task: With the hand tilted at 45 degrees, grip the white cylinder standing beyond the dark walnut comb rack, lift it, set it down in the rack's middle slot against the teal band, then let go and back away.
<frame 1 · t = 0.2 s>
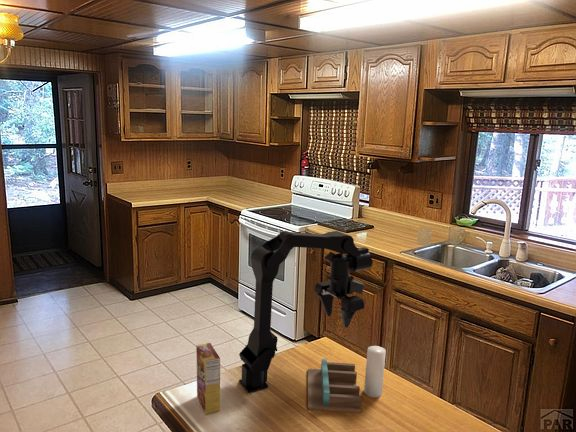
hand: (337, 321, 144), 14 cm above the countertop, tool pointing down, fingers open, 9 cm apart
comb rack: (337, 390, 133), on the countertop
candy box: (207, 404, 123), on the countertop
white cylinder: (372, 392, 132), on the countertop
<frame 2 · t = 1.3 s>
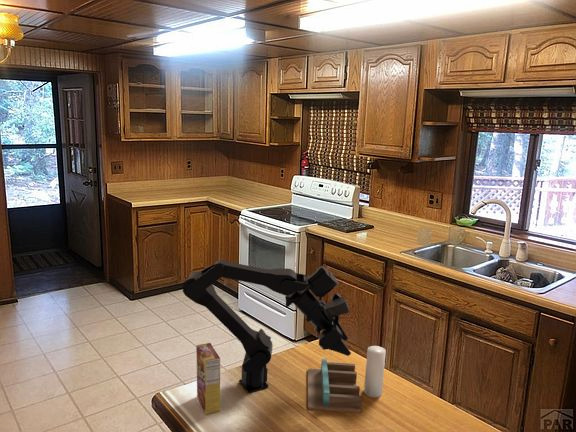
hand: (348, 346, 130), 13 cm above the countertop, tool tilted 45°, fingers open, 9 cm apart
nothing on the countertop moved.
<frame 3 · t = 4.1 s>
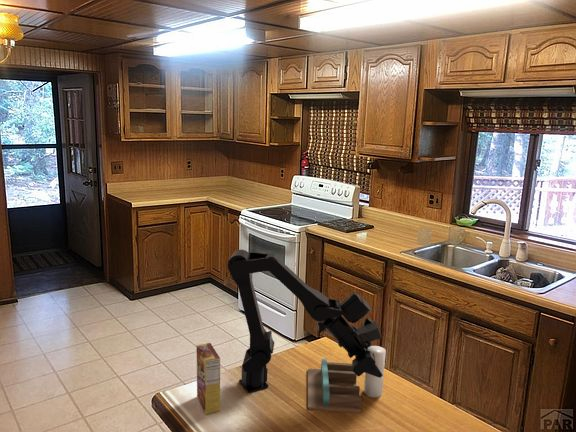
hand: (379, 371, 131), 7 cm above the countertop, tool tilted 45°, fingers closed on white cylinder, 5 cm apart
white cylinder: (372, 392, 132), on the countertop, touching gripper
everything else where it was.
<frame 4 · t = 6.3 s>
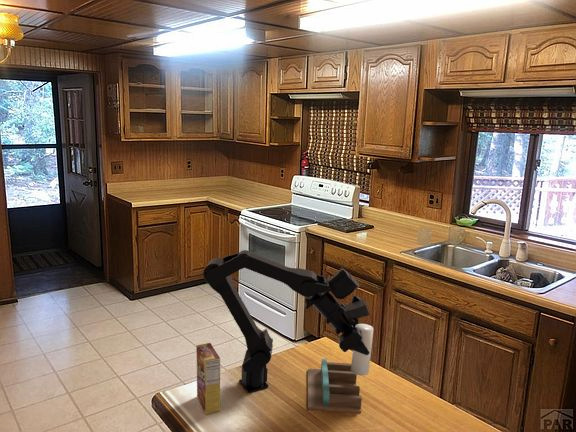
hand: (367, 349, 130), 13 cm above the countertop, tool tilted 45°, fingers closed on white cylinder, 5 cm apart
white cylinder: (359, 370, 131), point 6 cm above the countertop, touching gripper
everything else where it was.
when the fingers open (9 cm above the countertop, at t = 8.4 s): white cylinder drops 1 cm, resting on comb rack.
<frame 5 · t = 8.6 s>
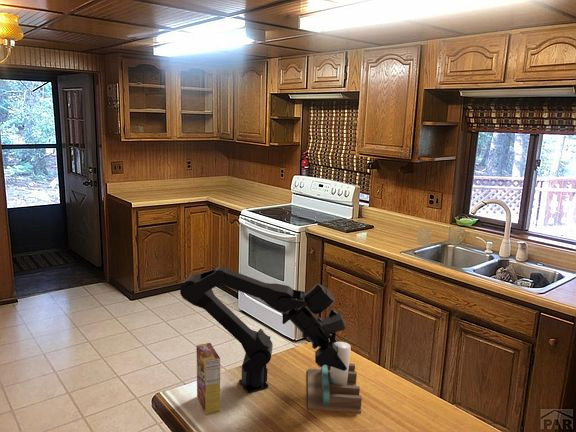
hand: (344, 362, 131), 9 cm above the countertop, tool tilted 45°, fingers open, 7 cm apart
white cylinder: (337, 388, 133), point 1 cm above the countertop, touching comb rack
everything else where it was.
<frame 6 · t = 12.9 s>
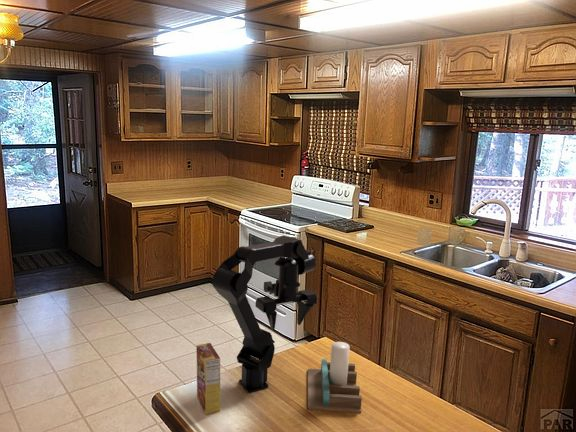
hand: (285, 327, 142), 13 cm above the countertop, tool pointing down, fingers open, 9 cm apart
nothing on the countertop moved.
at the end: white cylinder 0.1 cm off-centre on the comb rack, point 0.6 cm above the comb rack's base; white cylinder tilted 0°; the gripper is holding nothing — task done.
